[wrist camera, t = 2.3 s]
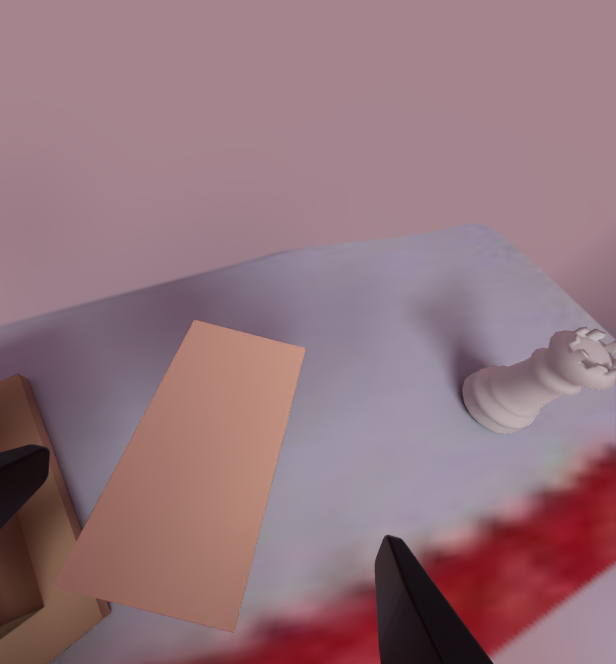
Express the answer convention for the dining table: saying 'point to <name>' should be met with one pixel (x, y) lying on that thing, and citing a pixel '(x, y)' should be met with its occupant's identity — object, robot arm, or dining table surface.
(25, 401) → the wooden compartment tray
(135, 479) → the tan rectangular block
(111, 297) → the dining table surface
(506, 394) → the rook chess piece
